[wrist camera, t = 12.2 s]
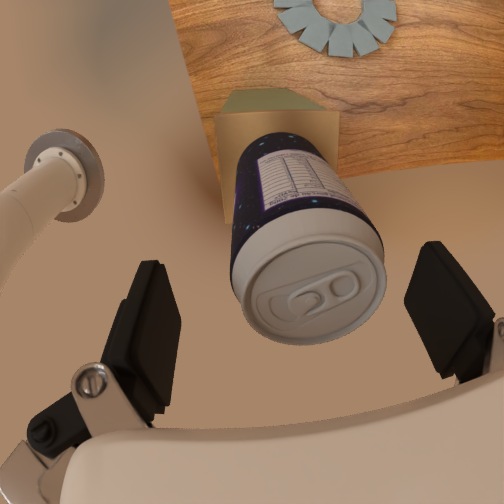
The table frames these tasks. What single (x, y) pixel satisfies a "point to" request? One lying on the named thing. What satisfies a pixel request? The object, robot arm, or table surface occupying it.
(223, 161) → the stand
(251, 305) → the beverage can
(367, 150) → the table surface
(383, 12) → the trivet
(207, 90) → the table surface
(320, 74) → the table surface
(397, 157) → the table surface
